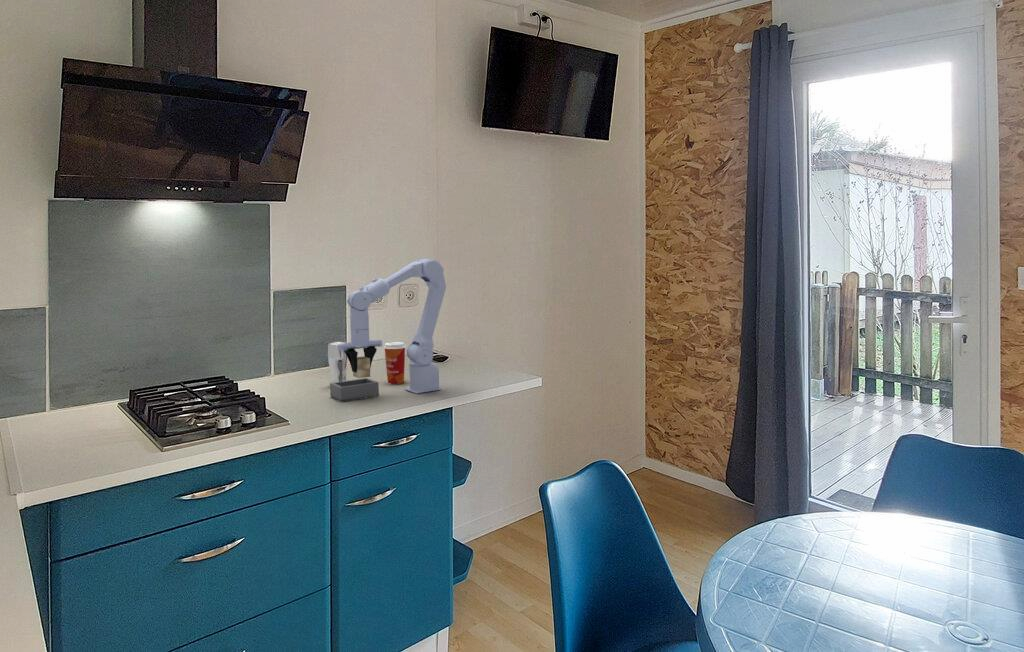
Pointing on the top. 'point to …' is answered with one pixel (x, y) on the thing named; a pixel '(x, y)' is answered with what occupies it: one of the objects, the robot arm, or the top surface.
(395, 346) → the paper cup
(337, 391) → the grey rectangular open box
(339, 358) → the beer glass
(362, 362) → the birch block
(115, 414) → the top surface
